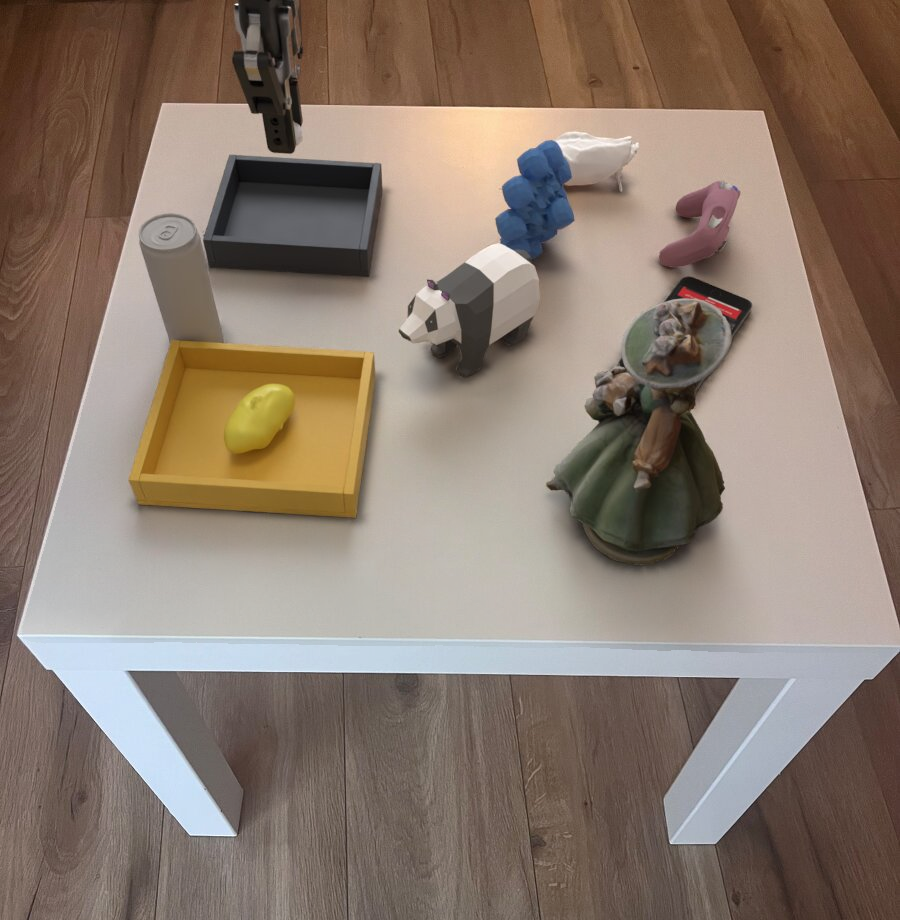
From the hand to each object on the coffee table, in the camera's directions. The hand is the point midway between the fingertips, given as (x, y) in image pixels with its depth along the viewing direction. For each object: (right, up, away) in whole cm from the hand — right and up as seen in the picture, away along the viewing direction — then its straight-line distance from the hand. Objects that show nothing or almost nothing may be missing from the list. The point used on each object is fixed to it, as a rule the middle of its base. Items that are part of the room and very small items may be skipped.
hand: (285, 138), depth 74 cm
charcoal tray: (-2, 0, +18) cm, 18 cm away
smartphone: (+35, -13, +11) cm, 39 cm away
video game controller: (+38, -1, +19) cm, 42 cm away
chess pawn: (0, 0, 0) cm, 0 cm away
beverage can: (-10, -14, +10) cm, 20 cm away
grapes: (+22, -4, +17) cm, 28 cm away
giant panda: (+15, -15, +10) cm, 23 cm away
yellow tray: (-3, -24, +4) cm, 24 cm away
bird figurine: (+27, +7, +24) cm, 36 cm away
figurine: (+28, -29, +2) cm, 40 cm away
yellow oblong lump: (-3, -23, +3) cm, 24 cm away
